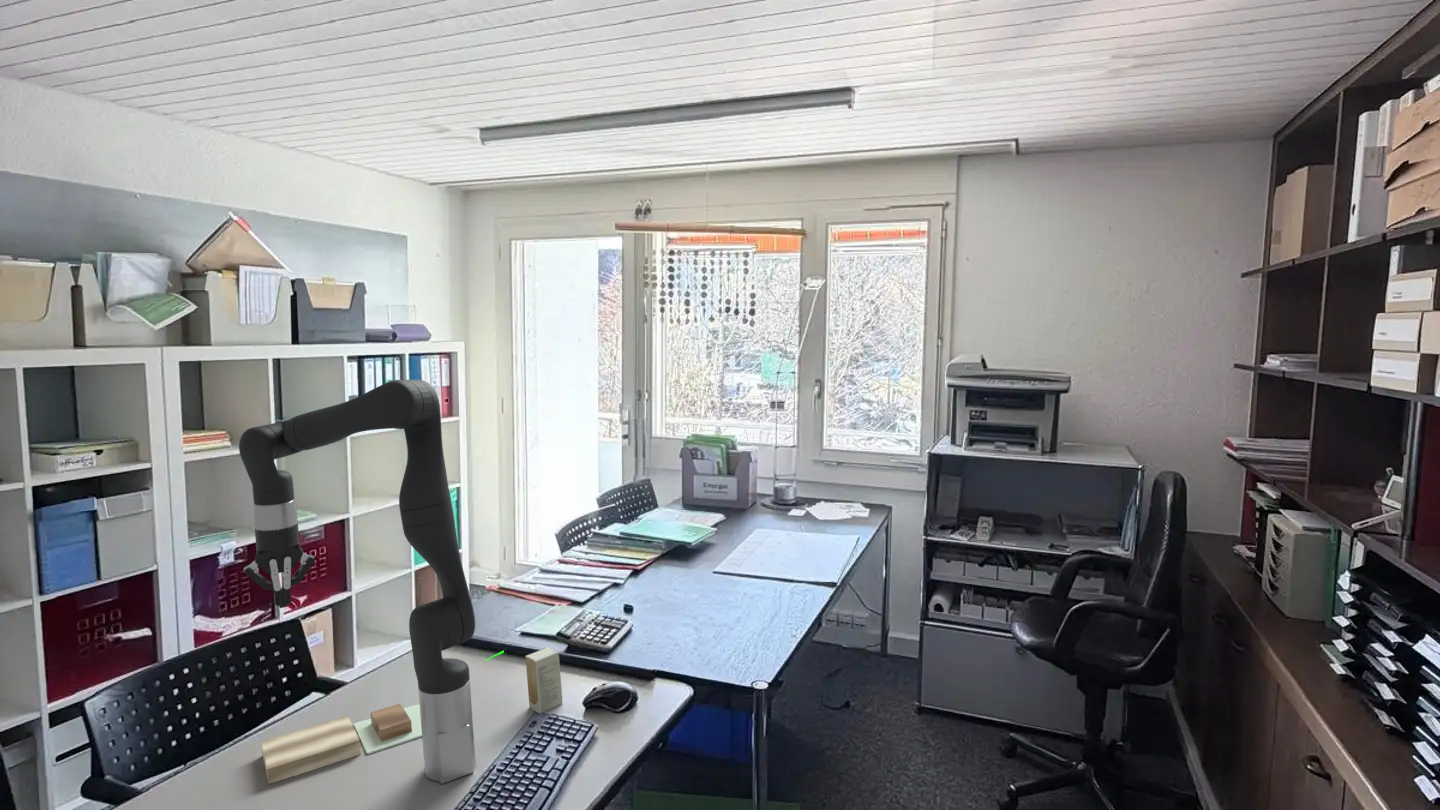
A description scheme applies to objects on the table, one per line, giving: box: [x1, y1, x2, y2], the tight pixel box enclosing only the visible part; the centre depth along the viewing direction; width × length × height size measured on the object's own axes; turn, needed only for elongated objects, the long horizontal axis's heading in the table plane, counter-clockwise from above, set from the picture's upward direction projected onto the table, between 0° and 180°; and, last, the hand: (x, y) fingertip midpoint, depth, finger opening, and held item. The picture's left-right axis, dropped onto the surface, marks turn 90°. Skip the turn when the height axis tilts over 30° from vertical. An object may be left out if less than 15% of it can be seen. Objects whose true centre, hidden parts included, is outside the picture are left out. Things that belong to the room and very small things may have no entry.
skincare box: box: [525, 646, 563, 714], centre depth 170 cm, size 6×4×12 cm
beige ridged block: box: [260, 715, 362, 785], centre depth 154 cm, size 12×16×3 cm
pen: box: [482, 650, 505, 663], centre depth 199 cm, size 1×14×1 cm, turn 144°
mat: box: [353, 703, 422, 755], centre depth 165 cm, size 14×20×1 cm
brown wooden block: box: [370, 703, 412, 742], centre depth 163 cm, size 9×6×2 cm, turn 36°
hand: (283, 606), depth 156 cm, fingers closed
